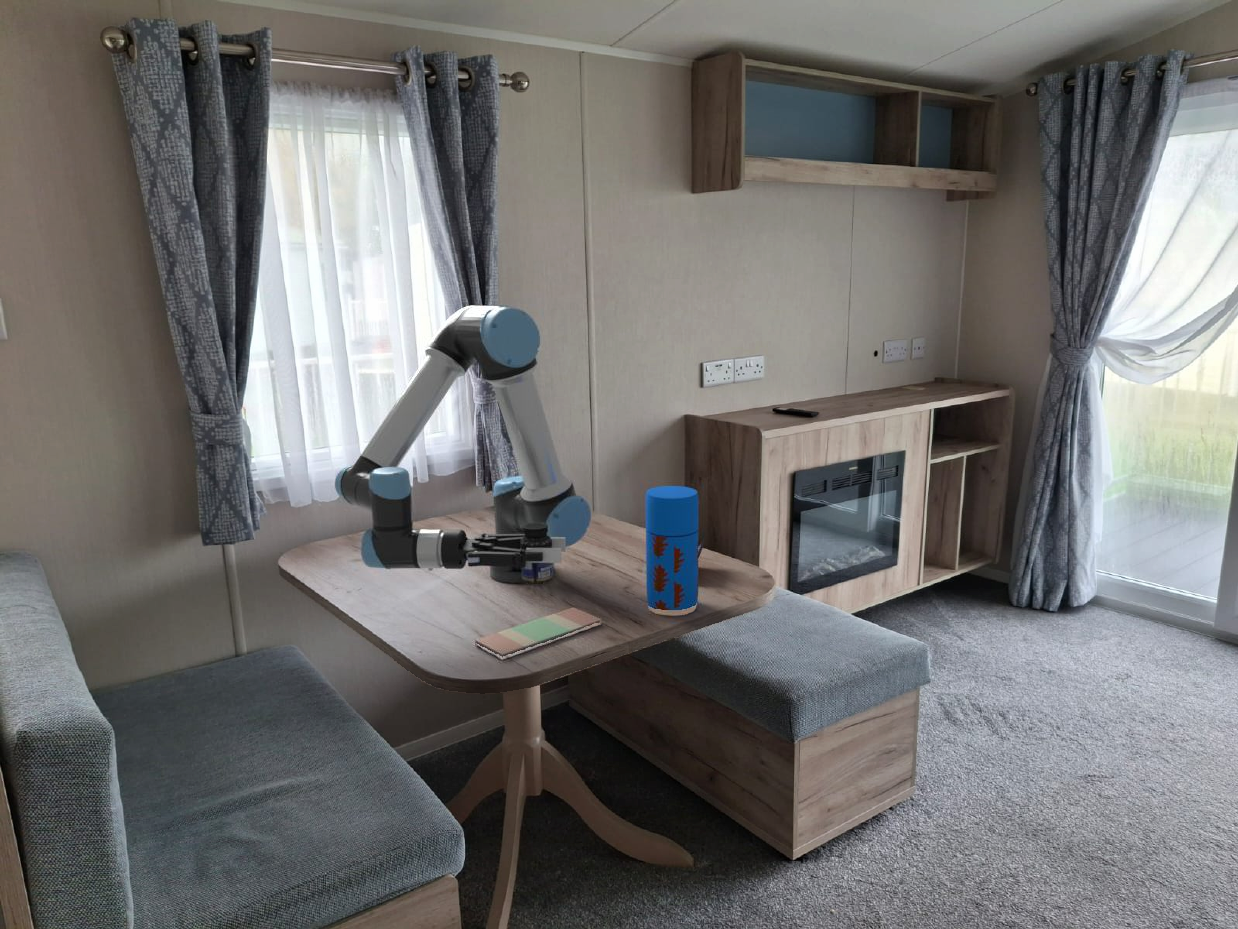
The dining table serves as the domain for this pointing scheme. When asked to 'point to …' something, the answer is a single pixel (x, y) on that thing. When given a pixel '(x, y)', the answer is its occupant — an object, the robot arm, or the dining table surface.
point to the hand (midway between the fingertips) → (563, 549)
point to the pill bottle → (536, 539)
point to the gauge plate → (537, 631)
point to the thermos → (672, 547)
